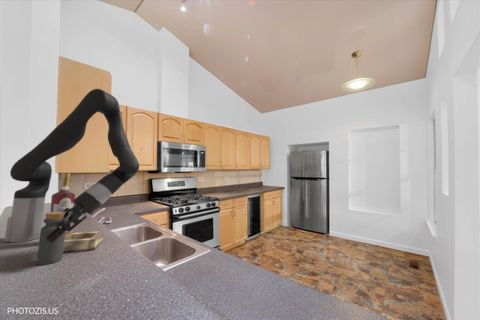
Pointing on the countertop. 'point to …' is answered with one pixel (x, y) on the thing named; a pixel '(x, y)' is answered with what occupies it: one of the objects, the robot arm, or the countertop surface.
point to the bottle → (51, 250)
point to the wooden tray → (82, 241)
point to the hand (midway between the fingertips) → (45, 238)
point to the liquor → (63, 197)
